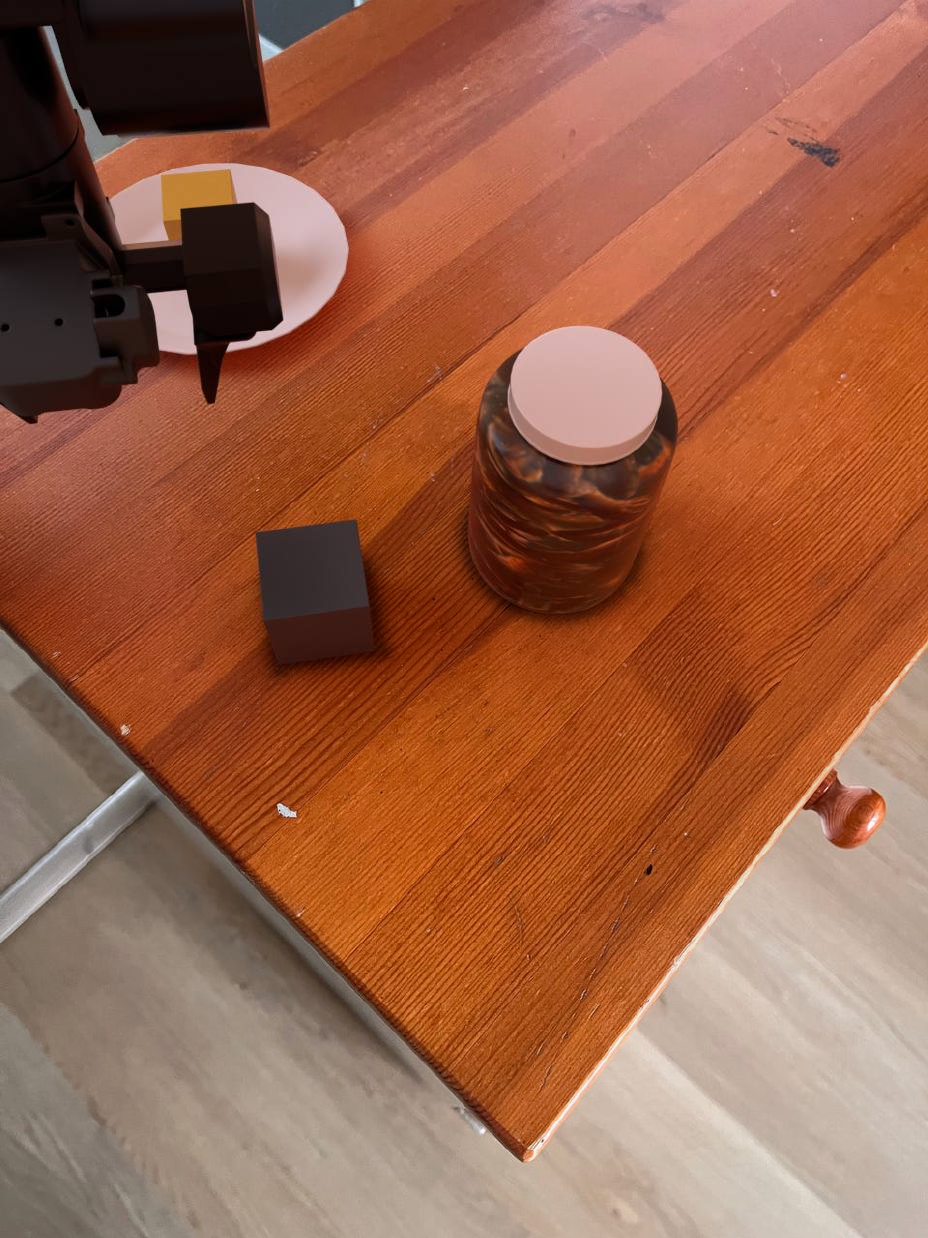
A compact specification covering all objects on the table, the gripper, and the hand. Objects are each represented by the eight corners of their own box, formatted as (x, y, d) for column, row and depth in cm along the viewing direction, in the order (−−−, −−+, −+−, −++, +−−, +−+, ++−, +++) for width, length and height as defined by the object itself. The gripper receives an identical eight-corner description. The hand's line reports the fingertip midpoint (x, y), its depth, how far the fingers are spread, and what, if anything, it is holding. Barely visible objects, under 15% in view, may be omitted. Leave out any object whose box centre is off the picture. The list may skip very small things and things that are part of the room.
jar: (673, 563, 60) (742, 415, 47) (529, 644, 57) (560, 510, 44) (571, 442, 65) (609, 275, 51) (432, 511, 61) (434, 352, 48)
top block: (179, 277, 68) (162, 220, 63) (177, 232, 70) (160, 174, 66) (247, 271, 68) (234, 214, 64) (242, 226, 70) (230, 168, 66)
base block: (278, 665, 56) (263, 620, 50) (270, 582, 58) (255, 531, 53) (375, 651, 56) (369, 605, 51) (362, 570, 59) (356, 518, 54)
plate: (170, 420, 64) (162, 398, 62) (34, 254, 71) (22, 230, 69) (403, 294, 71) (402, 272, 69) (257, 154, 78) (252, 130, 76)
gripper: (-306, 311, 30) (-73, 558, 44) (264, 257, 32) (313, 509, 46) (-246, 102, 35) (-54, 383, 49) (243, 68, 37) (293, 346, 51)
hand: (123, 407), depth 48 cm, fingers open, 9 cm apart
